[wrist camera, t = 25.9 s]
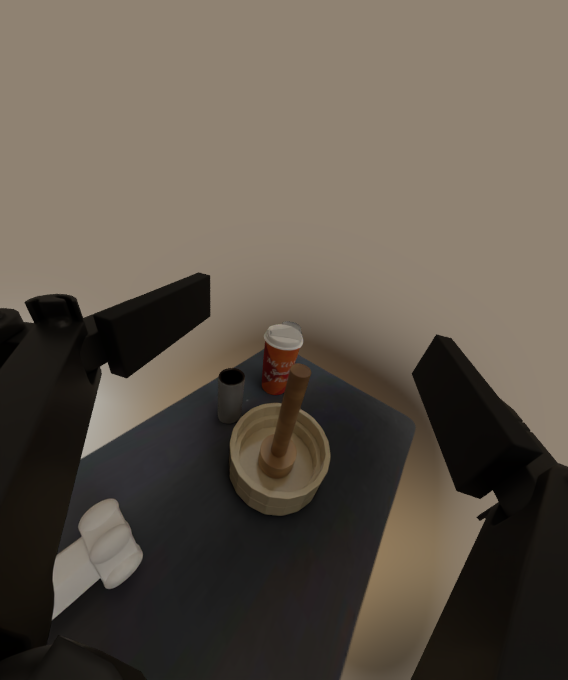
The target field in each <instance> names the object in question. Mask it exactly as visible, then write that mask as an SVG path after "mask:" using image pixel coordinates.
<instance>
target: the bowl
mask: <svg viewBox="0 0 568 680" xmlns="http://www.w3.org/2000/svg"><path fill="white" fill-rule="evenodd" d="M281 405H282V403H270V404H263V405H260V406H258V407H255V408H253V409H251V410H250V411H248V412H247V413H246V414H244V415H243V416H242V417H241V418H240V419H239V421H238V422H237V424H236V425H235V427H234V429H233V432H232V436H231V440H230V446H229V460H228V463H229V475H230V479H231V481H232V484H233V486H234V488H235V491H236V493H237V494H238V495H239V496H240V497H241V498H242V500H243V501H244V502H245V503H246V504H247V505H248V506H250V507H252V508H253V509H255V510H257V511H259V512H261V513H263V514H268V515H277V516H283V515H287V514H290V513H294V512H297V511H299V510H300V509H302V508H303V507H304V506H306V505H307V504H308V503H309V502H311V501H312V499H313V497H314V496H315V494H316V492H317V490H318V489H319V487H320V485H321V483H322V481H323V479H324V477H325V476H326V474H327V472H328V468H329V462H330V449H329V443H328V440H327V438H326V435H325V433H324V431H323V429H322V428H321V426H320V425H319V424H318V423H317V422H316V421H315V419H314V418H313V417H311V416H310V415H309V414H307V413H306V412H304V411H303V410H302V409H300V411H299V414H298V417H297V420H296V424H295V427H294V430H293V433H292V436H291V440H292V441H293V442H294V444H295V446H296V450H297V456H296V460H295V462H294V465H293V468H292V470H291V472H290V473H289V474H288V475H287V476H285V477H283V478H279V479H274V478H271V477H268V476H267V475H265V474H264V473H263V471H262V470H261V468H260V466H259V462H258V458H259V452H260V447H261V444H262V442H263V440H264V439H265V438H266V437H267V436H269V435H272V434H275V429H276V425H277V421H278V417H279V413H280V409H281Z"/></svg>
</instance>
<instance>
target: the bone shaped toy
mask: <svg viewBox="0 0 568 680" xmlns="http://www.w3.org/2000/svg"><path fill="white" fill-rule="evenodd" d="M78 529H79V531H80V533H81V535H82V537H81V538H79V539H78V540H77V541H75V542H74V543H72V544H71V545H70V546H68V547H67V548H66V549H64V550H63V551H62V552H60V553H59V554H57V555H56V559H55V563H54V568H53V586H54V593H55V597H54V610H53V616H52V620H53V619H54V618H55V617H56V616H58V615H59V614H60V613H61V612H62V611H63V610H64V609H66V608H67V607H68V606H69V605H70V604H71V603H72V602H74V601H75V600H76V599H77V598H78V597H79V596H80V595H82V594H83V593H84V592H85V591H86V590H87V589H88V588H90V587H91V586H92V585H93V584H94V583H95V582H96V581H98V580H99V579H100V578H101V580H102V581H103V583H104V586H105V588H107V589H112V588H115V587H117V586H118V585H120V584H121V583H123V582H124V581H125V580H126V579H127V578H128V577H130V576H131V575H132V573H133V572H134V571H135V570H136V569H137V567H138V566H139V565H140V563H141V560H142V558H143V552H142V550H141V548H140V546H139V545H138V544H136V542H135V540H134V538H133V536H132V533H131V528H130V526H129V524H128V522H127V521H125V519H124V517H123V515H122V513H121V511H120V509H119V504H118V502H117V500H115V499H106V500H103V501H101V502H99V503H97V504H95V505H94V506H93V507H91V508H90V509H89V510H88V511H87V512H86V513H85V514H84V515H83V516H82V518H81V519H80V522H79V525H78Z"/></svg>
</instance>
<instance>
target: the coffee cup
mask: <svg viewBox="0 0 568 680" xmlns="http://www.w3.org/2000/svg"><path fill="white" fill-rule="evenodd" d="M264 339H265V349H264V359H263V373H262V388H263V390H264V391H265V392H267V393H268V394H271V395H280V394H282V393H284V392H285V388H286V384H287V380H288V376H289V371H290V368H291V366H292V365H294V364H295V361H296V358H297V355H298V352H299V349H300V347H301V346H302V345H303V336H302V335H301V333H300V332H299V331H298V330H297V329H295V328H294V327H292V326H289V325H283V324H277V325H273V326H270V327H269V328H268V330H267V331H266V333H265V334H264Z"/></svg>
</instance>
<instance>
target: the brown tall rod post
mask: <svg viewBox="0 0 568 680" xmlns="http://www.w3.org/2000/svg"><path fill="white" fill-rule="evenodd" d="M310 375H311V370H310V369H309V368H308V367H307V366H306V365H303V364H294V365H292V366H291V368H290V371H289V376H288V380H287V384H286V388H285V392H284V396H283V400H282V405H281V409H280V413H279V417H278V421H277V425H276V429H275V434H272V435H269V436H267V437H266V438H265V439H264V440H263V442H262V444H261V447H260V452H259V458H258V462H259V466H260V468H261V470H262V471H263V473H264V474H265V475H267V476H268V477H271V478H274V479H279V478H283V477H285V476H287V475H288V474H289V473H290V472H291V470H292V468H293V465H294V462H295V460H296V456H297V450H296V446H295V444H294V442H293V441H292V440H291V436H292V433H293V430H294V427H295V424H296V420H297V417H298V414H299V411H300V407H301V404H302V401H303V398H304V395H305V391H306V388H307V385H308V382H309V378H310Z"/></svg>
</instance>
